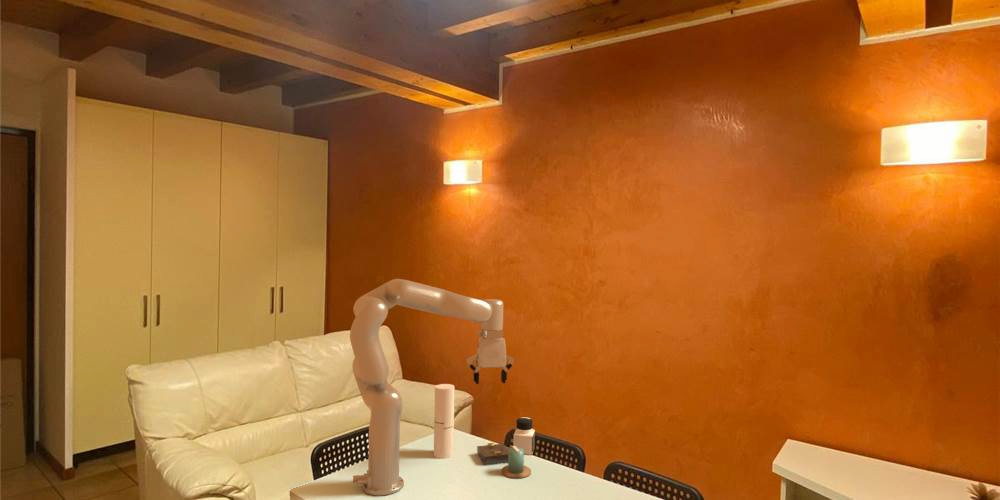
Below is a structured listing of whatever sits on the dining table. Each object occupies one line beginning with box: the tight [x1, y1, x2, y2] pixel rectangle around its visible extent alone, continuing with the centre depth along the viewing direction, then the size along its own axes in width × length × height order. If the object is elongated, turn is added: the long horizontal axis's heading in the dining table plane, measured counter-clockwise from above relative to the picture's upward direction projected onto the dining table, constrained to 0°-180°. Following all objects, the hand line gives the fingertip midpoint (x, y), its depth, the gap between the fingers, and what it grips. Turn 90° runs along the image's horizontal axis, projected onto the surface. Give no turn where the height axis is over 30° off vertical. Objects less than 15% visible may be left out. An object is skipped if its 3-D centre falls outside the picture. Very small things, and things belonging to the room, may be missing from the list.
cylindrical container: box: [433, 383, 455, 460], centre depth 184 cm, size 7×7×25 cm
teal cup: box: [507, 445, 525, 474], centre depth 170 cm, size 5×5×7 cm
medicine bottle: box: [512, 416, 536, 456], centre depth 189 cm, size 7×7×12 cm
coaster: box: [501, 464, 532, 480], centre depth 170 cm, size 10×10×1 cm
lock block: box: [476, 442, 509, 466], centre depth 182 cm, size 10×10×4 cm
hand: (490, 382), depth 177 cm, fingers open, 9 cm apart
